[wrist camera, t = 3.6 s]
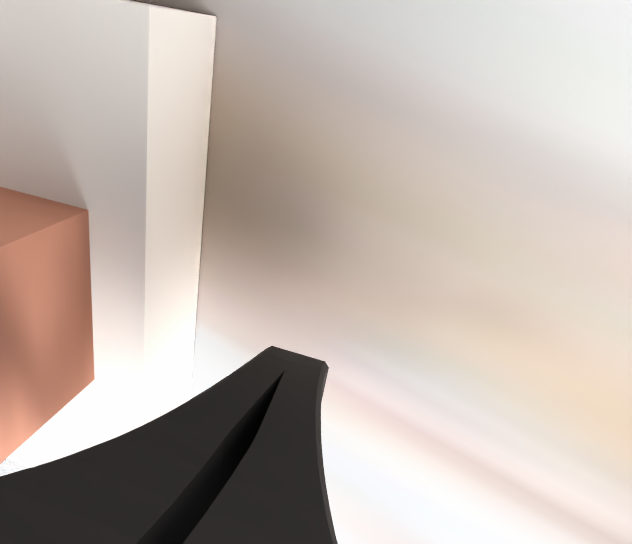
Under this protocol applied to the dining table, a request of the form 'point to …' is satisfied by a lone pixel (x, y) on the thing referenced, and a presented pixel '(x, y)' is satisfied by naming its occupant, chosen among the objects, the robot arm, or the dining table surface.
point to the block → (42, 312)
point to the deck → (115, 189)
